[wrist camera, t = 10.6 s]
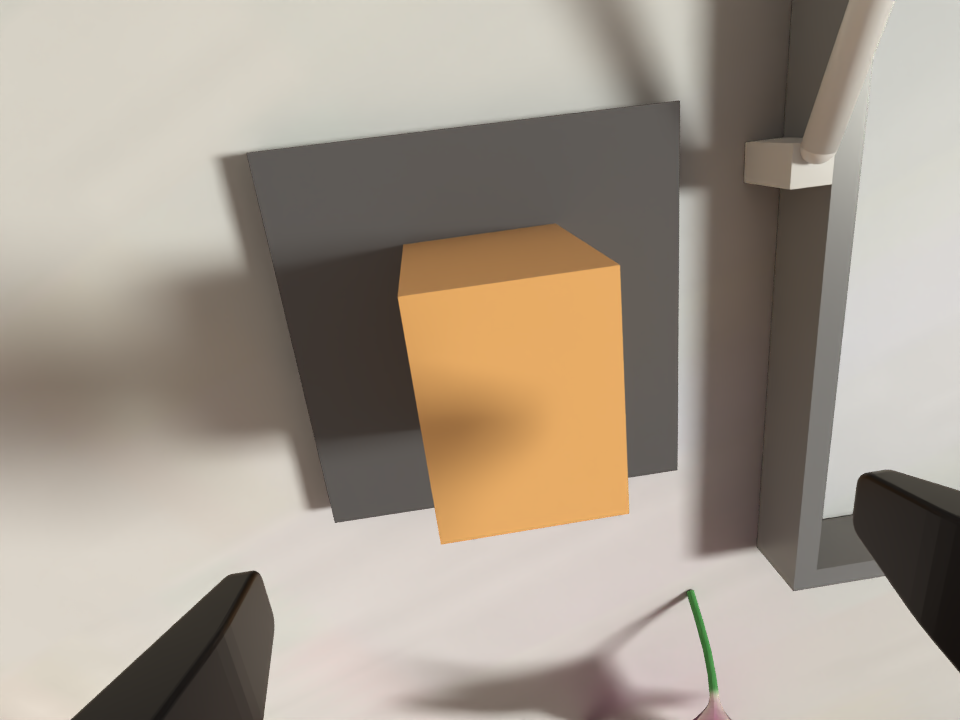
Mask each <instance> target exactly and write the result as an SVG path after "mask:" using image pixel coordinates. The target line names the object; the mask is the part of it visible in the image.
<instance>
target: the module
mask: <svg viewBox="0 0 960 720" xmlns="http://www.w3.org/2000/svg"><path fill="white" fill-rule="evenodd" d="M398 302H399V308H400V313H401V319H402V325H403V330H404V336H405V342H406V347H407V353H408V359H409V365H410V370H411V376H412V382H413V387H414V393H415V399H416V404H417V410H418V416H419V421H420V427H421V433H422V439H423V444H424V450H425V456H426V461H427V467H428V473H429V479H430V484H431V490H432V496H433V501H434V507H435V513H436V518H437V524H438V530H439V535H440V541H441V544H447V543H453V542H459V541H465V540H471V539H477V538H483V537H490V536H496V535H502V534H508V533H514V532H520V531H526V530H532V529H538V528H544V527H550V526H556V525H562V524H569V523H575V522H581V521H587V520H593V519H599V518H605V517H611V516H617V515H623V514H629V494H628V467H627V440H626V413H625V386H624V359H623V332H622V305H621V278H620V265H619V264H618V263H616V262H615V261H613V260H611V259H610V258H608V257H607V256H605V255H604V254H602V253H601V252H599V251H597V250H596V249H594V248H593V247H591V246H590V245H588V244H587V243H585V242H584V241H582V240H580V239H579V238H577V237H576V236H574V235H573V234H571V233H570V232H568V231H566V230H565V229H563V228H562V227H560V226H559V225H557V224H556V223H555V224H548V225H541V226H534V227H527V228H519V229H512V230H505V231H498V232H491V233H483V234H476V235H469V236H462V237H455V238H447V239H440V240H433V241H426V242H418V243H411V244H404V245H403V252H402V261H401V270H400V279H399V289H398Z"/></svg>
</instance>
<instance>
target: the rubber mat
mask: <svg viewBox="0 0 960 720" xmlns="http://www.w3.org/2000/svg"><path fill="white" fill-rule="evenodd" d="M679 147H680V101H672V102H664V103H656V104H647V105H639V106H631V107H622V108H614V109H606V110H598V111H589V112H581V113H573V114H564V115H556V116H548V117H540V118H531V119H523V120H515V121H506V122H498V123H490V124H482V125H473V126H465V127H457V128H448V129H440V130H432V131H424V132H415V133H407V134H399V135H390V136H382V137H374V138H366V139H357V140H349V141H341V142H332V143H324V144H316V145H308V146H299V147H291V148H283V149H275V150H266V151H258V152H250V153H247V157H248V161H249V165H250V169H251V173H252V178H253V182H254V186H255V190H256V194H257V199H258V203H259V207H260V211H261V215H262V219H263V224H264V228H265V232H266V236H267V240H268V245H269V249H270V253H271V257H272V261H273V266H274V270H275V274H276V278H277V282H278V286H279V291H280V295H281V299H282V303H283V307H284V312H285V316H286V320H287V324H288V328H289V332H290V337H291V341H292V345H293V349H294V353H295V358H296V362H297V366H298V370H299V374H300V379H301V383H302V387H303V391H304V395H305V399H306V404H307V408H308V412H309V416H310V420H311V425H312V429H313V433H314V437H315V441H316V445H317V450H318V454H319V458H320V462H321V466H322V471H323V475H324V479H325V483H326V487H327V491H328V496H329V500H330V504H331V508H332V512H333V517H334V521H335V523H337V522H344V521H350V520H357V519H363V518H370V517H376V516H383V515H389V514H396V513H402V512H409V511H415V510H422V509H428V508H435V507H434V501H433V496H432V490H431V484H430V479H429V473H428V467H427V461H426V456H425V450H424V444H423V439H422V433H421V427H420V421H419V416H418V410H417V404H416V399H415V393H414V387H413V382H412V376H411V370H410V365H409V359H408V353H407V347H406V342H405V336H404V330H403V325H402V319H401V313H400V308H399V302H398V289H399V279H400V270H401V261H402V252H403V245H404V244H411V243H418V242H426V241H433V240H440V239H447V238H455V237H462V236H469V235H476V234H483V233H491V232H498V231H505V230H512V229H519V228H527V227H534V226H541V225H548V224H555V223H556V224H557V225H559V226H560V227H562V228H563V229H565V230H566V231H568V232H570V233H571V234H573V235H574V236H576V237H577V238H579V239H580V240H582V241H584V242H585V243H587V244H588V245H590V246H591V247H593V248H594V249H596V250H597V251H599V252H601V253H602V254H604V255H605V256H607V257H608V258H610V259H611V260H613V261H615V262H616V263H618V264H619V265H620V278H621V305H622V332H623V359H624V386H625V413H626V440H627V467H628V478H629V477H636V476H642V475H649V474H655V473H662V472H668V471H674V470H677V453H678V300H679Z"/></svg>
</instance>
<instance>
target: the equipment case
mask: <svg viewBox="0 0 960 720" xmlns="http://www.w3.org/2000/svg"><path fill="white" fill-rule="evenodd" d="M894 2H895V0H792V12H791V28H790V43H789V58H788V74H787V89H786V105H785V120H784V135H783V138H775V139H767V140H759V141H751V142H746V144H745V167H744V183H749V184H756V185H763V186H769V187H776V188H780V197H779V213H778V228H777V243H776V259H775V274H774V290H773V305H772V320H771V336H770V351H769V367H768V382H767V397H766V413H765V428H764V444H763V459H762V474H761V490H760V505H759V521H758V536H757V548H758V549H759V550H760V551H761V553H762V554H763V555H764V556H765V557H766V559H767V560H768V561H769V562H770V563H771V565H772V566H773V567H774V568H775V569H776V571H777V572H778V573H779V574H780V576H781V577H782V578H783V579H784V580H785V582H786V583H787V584H788V585H789V586H790V588H791V589H792V590H793V591H797V590H803V589H809V588H815V587H821V586H827V585H833V584H839V583H845V582H851V581H857V580H863V579H869V578H875V577H881V576H885V575H884V573H883V572H882V570H881V569H880V568H879V566H878V565H877V563H876V562H875V560H874V559H873V557H872V556H871V555H870V553H869V552H868V550H867V549H866V547H865V546H864V545H863V543H862V542H861V540H860V539H859V537H858V536H857V534H856V532H855V530H854V526H853V520H852V517H853V515H850V516H843V517H837V518H831V519H825V520H822V517H823V508H824V499H825V490H826V481H827V472H828V463H829V454H830V445H831V436H832V427H833V418H834V409H835V400H836V390H837V381H838V372H839V363H840V354H841V345H842V336H843V327H844V318H845V309H846V300H847V291H848V282H849V273H850V264H851V255H852V246H853V237H854V228H855V218H856V209H857V200H858V191H859V182H860V173H861V164H862V155H863V146H864V137H865V128H866V119H867V110H868V101H869V92H870V83H871V74H872V65H873V57H874V54H875V52H876V49H877V47H878V44H879V41H880V39H881V36H882V34H883V31H884V28H885V26H886V23H887V21H888V18H889V15H890V13H891V10H892V8H893V5H894Z"/></svg>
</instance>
